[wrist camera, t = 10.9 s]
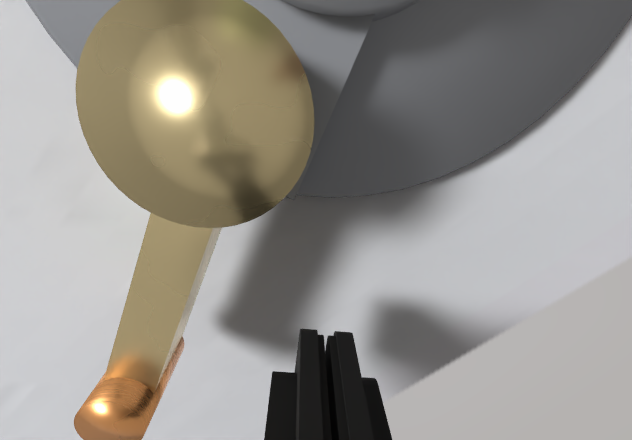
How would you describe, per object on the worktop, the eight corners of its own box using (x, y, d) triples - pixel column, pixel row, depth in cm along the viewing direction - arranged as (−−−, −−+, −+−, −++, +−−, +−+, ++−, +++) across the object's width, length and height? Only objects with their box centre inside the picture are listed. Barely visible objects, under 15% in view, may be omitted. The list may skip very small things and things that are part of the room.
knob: (190, 0, 8) (102, -72, 5) (332, 70, 9) (353, 55, 5) (102, 336, 12) (12, 445, 8) (208, 367, 13) (169, 480, 9)
